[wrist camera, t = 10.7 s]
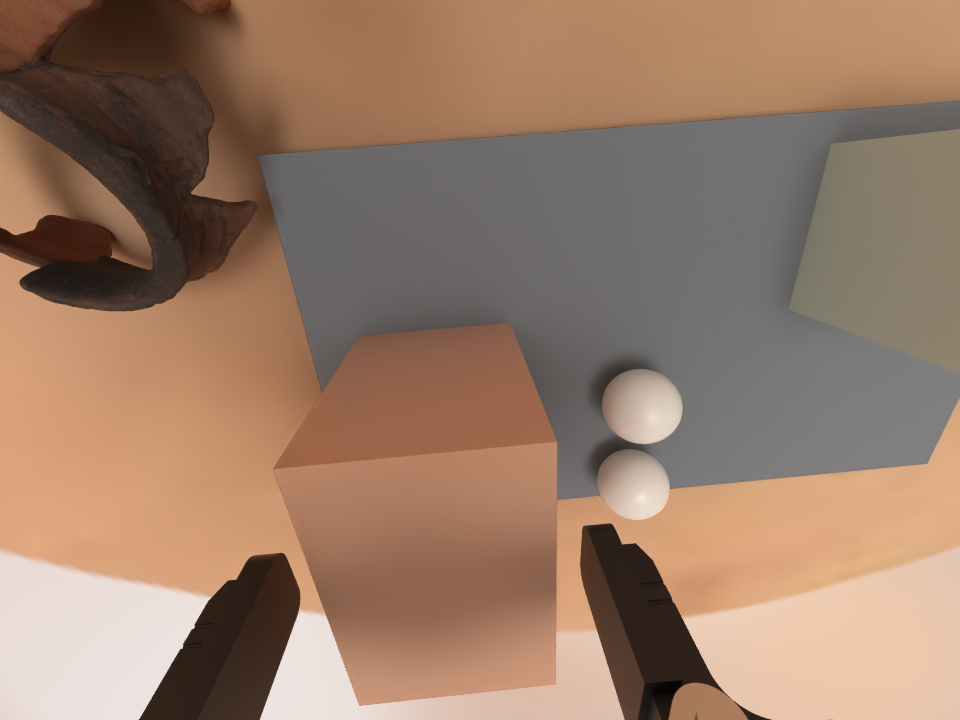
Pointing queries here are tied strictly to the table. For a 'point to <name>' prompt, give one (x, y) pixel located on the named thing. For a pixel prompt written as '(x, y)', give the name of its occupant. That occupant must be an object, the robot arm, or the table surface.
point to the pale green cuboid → (888, 245)
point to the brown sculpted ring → (114, 165)
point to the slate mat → (621, 282)
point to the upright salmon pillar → (431, 514)
